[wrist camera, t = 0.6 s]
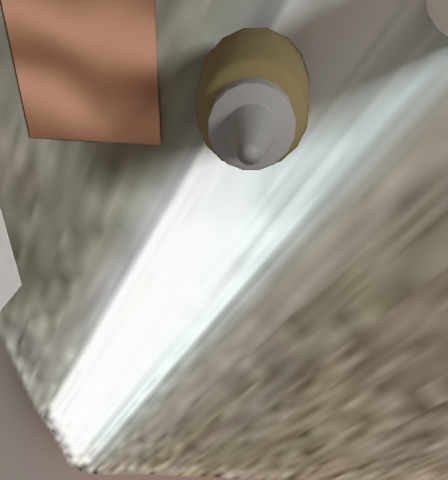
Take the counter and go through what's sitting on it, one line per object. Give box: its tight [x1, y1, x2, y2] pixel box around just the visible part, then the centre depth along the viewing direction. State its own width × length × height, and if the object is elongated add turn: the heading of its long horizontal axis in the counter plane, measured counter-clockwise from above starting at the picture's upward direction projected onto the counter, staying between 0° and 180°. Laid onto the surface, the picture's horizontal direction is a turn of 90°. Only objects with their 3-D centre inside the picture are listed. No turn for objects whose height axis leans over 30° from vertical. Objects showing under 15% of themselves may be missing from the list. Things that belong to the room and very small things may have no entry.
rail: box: [1, 0, 161, 145], centre depth 31 cm, size 16×28×3 cm, turn 88°
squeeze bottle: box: [197, 28, 309, 170], centre depth 26 cm, size 8×8×18 cm
